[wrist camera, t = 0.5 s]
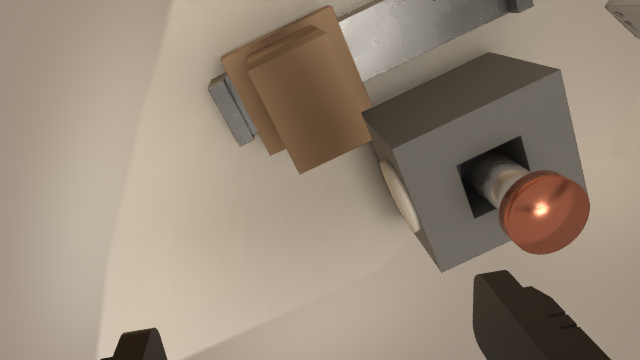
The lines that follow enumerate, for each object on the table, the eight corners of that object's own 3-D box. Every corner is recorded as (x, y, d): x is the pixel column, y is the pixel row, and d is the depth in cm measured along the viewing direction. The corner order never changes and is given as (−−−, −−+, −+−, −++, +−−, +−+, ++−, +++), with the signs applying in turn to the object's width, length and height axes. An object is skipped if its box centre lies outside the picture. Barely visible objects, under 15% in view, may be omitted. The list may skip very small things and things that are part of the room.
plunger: (502, 124, 28) (581, 164, 21) (518, 179, 30) (596, 232, 23) (442, 153, 28) (502, 202, 22) (460, 206, 30) (522, 267, 23)
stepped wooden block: (322, 4, 29) (354, 9, 21) (360, 95, 32) (402, 133, 23) (222, 53, 30) (213, 77, 21) (268, 139, 32) (276, 194, 23)
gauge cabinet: (489, 52, 32) (560, 69, 25) (519, 160, 36) (589, 204, 29) (354, 116, 33) (385, 152, 25) (397, 218, 36) (435, 275, 29)
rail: (491, -57, 30) (518, -62, 27) (506, 4, 31) (533, 5, 29) (211, 79, 30) (207, 88, 28) (240, 132, 32) (239, 146, 29)
